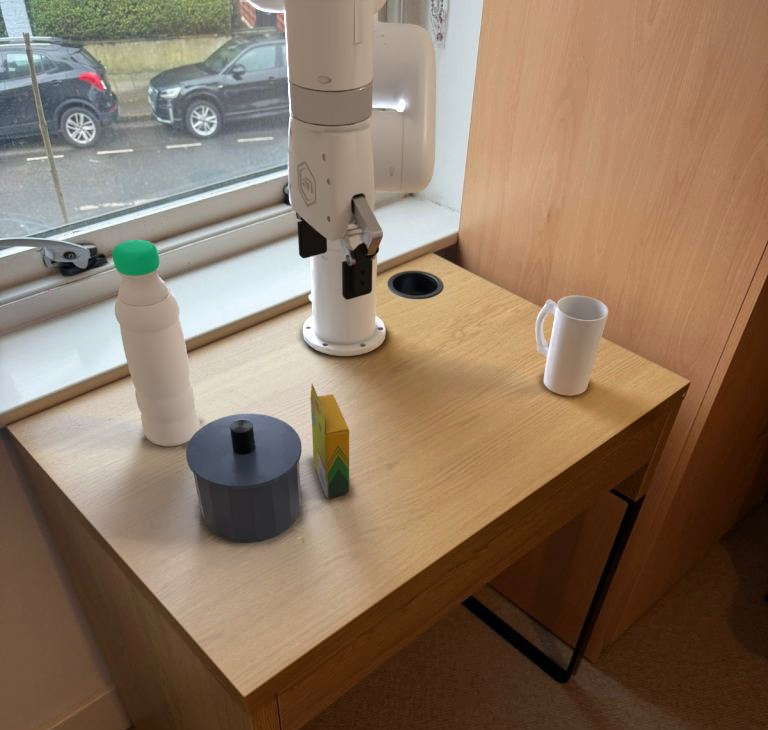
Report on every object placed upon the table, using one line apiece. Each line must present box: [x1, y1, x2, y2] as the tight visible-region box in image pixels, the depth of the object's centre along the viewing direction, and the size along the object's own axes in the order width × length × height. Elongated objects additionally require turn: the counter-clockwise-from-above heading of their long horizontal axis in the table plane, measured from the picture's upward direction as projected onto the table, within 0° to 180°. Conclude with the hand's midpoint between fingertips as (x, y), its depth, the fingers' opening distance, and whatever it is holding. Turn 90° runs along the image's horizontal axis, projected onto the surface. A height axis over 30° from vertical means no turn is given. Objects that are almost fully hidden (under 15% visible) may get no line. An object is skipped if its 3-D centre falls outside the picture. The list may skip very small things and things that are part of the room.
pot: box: [192, 460, 302, 544], centre depth 86 cm, size 11×11×8 cm
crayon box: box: [309, 383, 350, 499], centre depth 89 cm, size 7×3×12 cm, turn 17°
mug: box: [534, 294, 609, 397], centre depth 106 cm, size 10×7×12 cm, turn 43°
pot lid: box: [185, 413, 302, 489], centre depth 82 cm, size 12×12×4 cm
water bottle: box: [112, 239, 201, 447], centre depth 90 cm, size 7×7×25 cm
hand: (334, 274), depth 81 cm, fingers open, 9 cm apart
